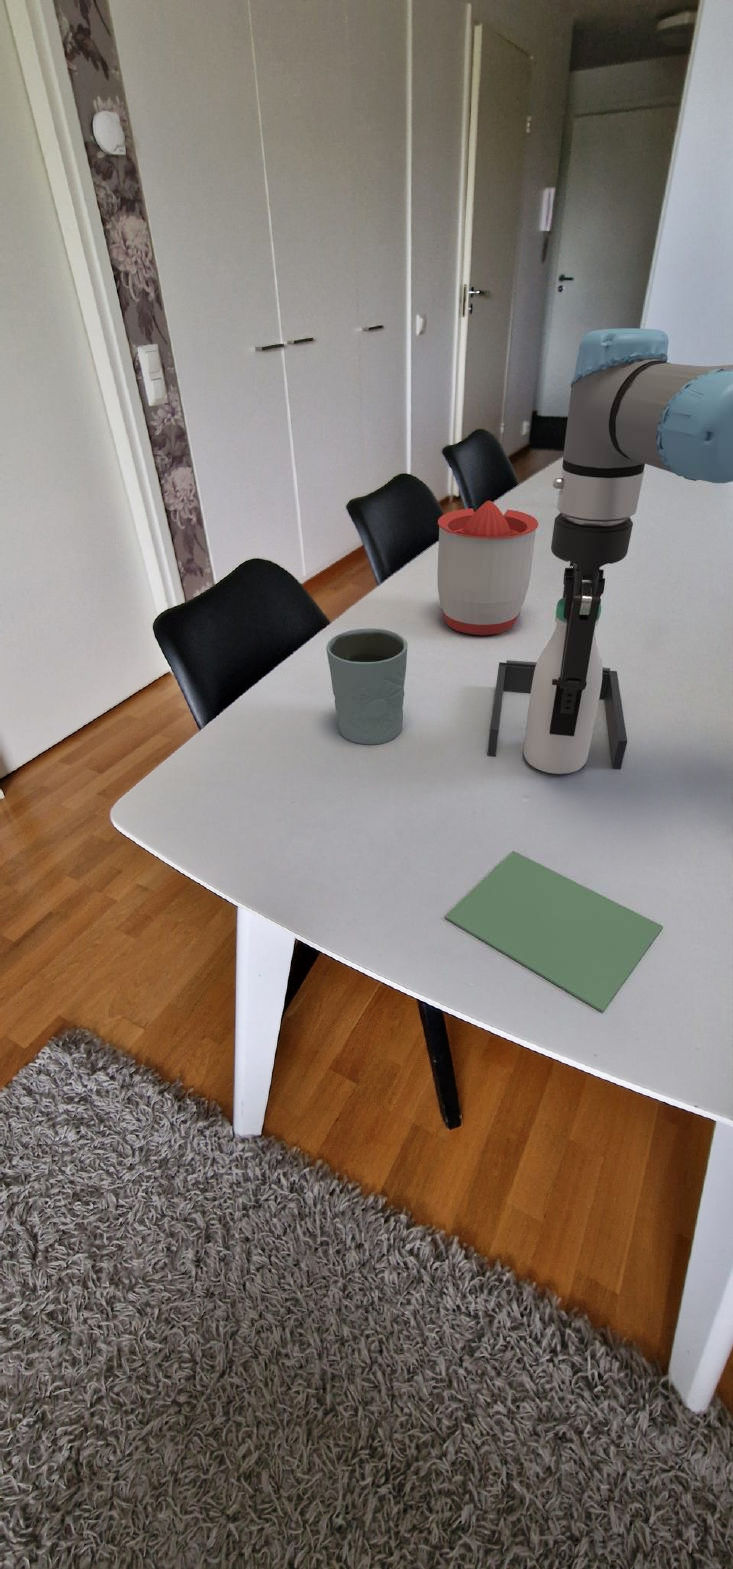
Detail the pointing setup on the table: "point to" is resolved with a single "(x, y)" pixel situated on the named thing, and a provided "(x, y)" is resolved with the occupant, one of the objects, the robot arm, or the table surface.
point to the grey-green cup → (368, 683)
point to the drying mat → (556, 928)
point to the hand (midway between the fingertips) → (561, 714)
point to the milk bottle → (539, 743)
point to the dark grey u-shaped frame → (520, 680)
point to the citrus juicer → (484, 567)
